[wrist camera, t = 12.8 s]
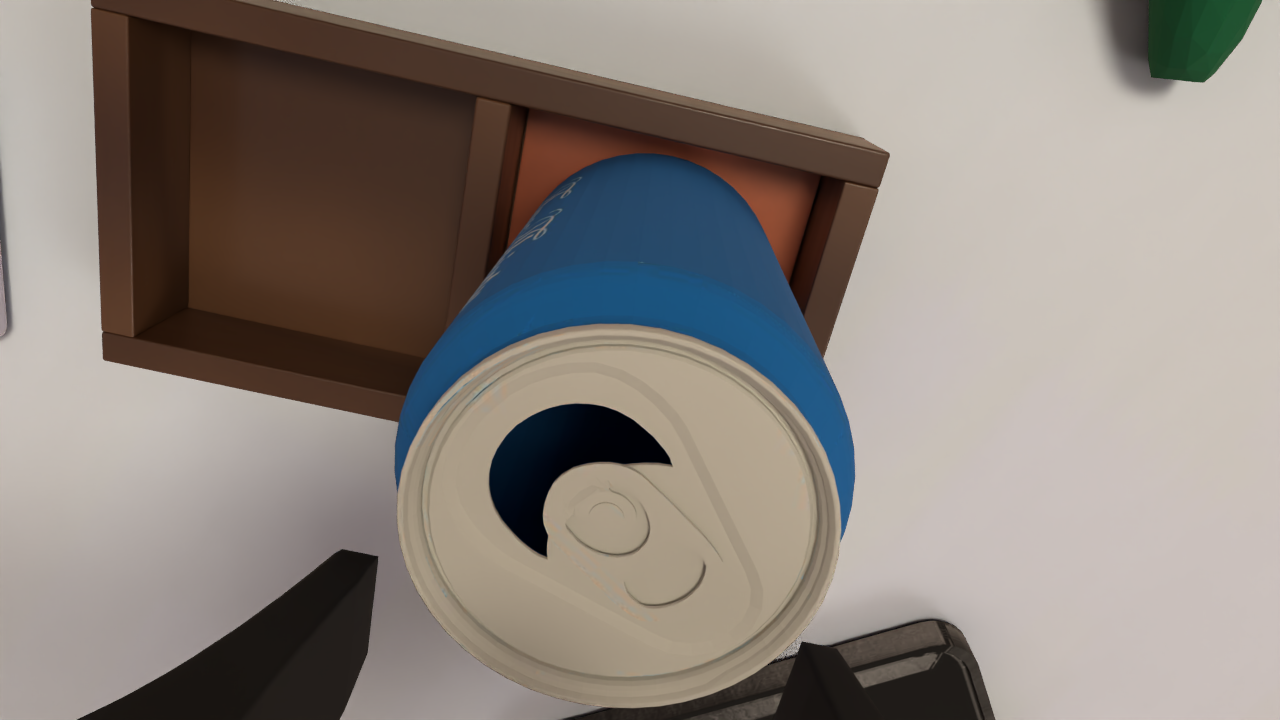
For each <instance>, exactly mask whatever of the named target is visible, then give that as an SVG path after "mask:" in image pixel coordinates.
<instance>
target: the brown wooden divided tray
mask: <svg viewBox="0 0 1280 720" xmlns="http://www.w3.org/2000/svg"><path fill="white" fill-rule="evenodd" d="M91 5H92V6H93V7H94V8H91V27H92V57H93V87H94V116H95V146H96V176H97V206H98V235H99V265H100V295H101V324H102V331H103V333H102V346H103V359H104V360H105V361H110V362H115V363H120V364H124V365H129V366H134V367H139V368H143V369H148V370H153V371H158V372H162V373H167V374H172V375H177V376H181V377H186V378H191V379H196V380H201V381H205V382H210V383H215V384H220V385H224V386H229V387H234V388H239V389H243V390H248V391H253V392H258V393H262V394H267V395H272V396H277V397H281V398H286V399H291V400H296V401H300V402H305V403H310V404H315V405H319V406H324V407H329V408H334V409H338V410H343V411H348V412H353V413H357V414H362V415H367V416H372V417H376V418H381V419H386V420H391V421H395V422H399V419H400V414H401V411H402V408H403V405H404V402H405V399H406V396H407V393H408V390H409V387H410V385H411V383H412V381H413V379H414V377H415V376H416V374H417V372H418V370H419V368H420V366H421V364H422V362H423V361H424V360H425V358H426V357H427V355H428V354H429V353H430V351H431V350H432V348H433V347H434V346H435V344H436V343H437V342H438V340H439V339H440V338H441V336H442V335H443V334H444V332H445V331H446V330H447V328H448V327H449V326H450V324H451V323H452V322H453V320H454V319H455V318H456V316H457V315H458V314H459V312H460V311H461V310H462V308H463V307H464V306H465V304H466V303H467V302H468V300H469V299H470V298H471V296H472V295H473V294H474V293H475V291H476V290H477V289H478V287H479V286H480V285H481V283H482V282H483V281H484V279H485V278H486V277H487V275H488V274H489V273H490V271H491V270H492V269H493V267H494V266H495V265H496V263H497V262H498V261H499V259H500V258H501V257H502V255H503V254H504V253H505V251H506V250H507V249H508V248H509V246H510V245H511V244H512V242H513V241H514V240H515V238H516V237H517V236H518V234H519V233H520V232H521V230H522V229H523V228H524V226H525V225H526V224H527V222H528V221H529V220H530V218H531V217H532V216H533V214H534V213H535V212H536V210H537V209H538V208H539V206H540V205H541V204H542V202H543V201H544V200H545V199H546V197H547V196H548V195H549V194H550V193H551V192H552V191H553V190H554V189H555V188H556V187H557V186H558V185H560V184H561V183H562V182H563V181H565V180H566V179H567V178H568V177H570V176H571V175H573V174H574V173H576V172H578V171H579V170H581V169H583V168H585V167H586V166H589V165H591V164H594V163H596V162H598V161H601V160H604V159H608V158H611V157H615V156H619V155H627V154H635V153H655V154H662V155H669V156H674V157H677V158H681V159H685V160H688V161H691V162H693V163H695V164H698V165H700V166H702V167H705V168H706V169H708V170H710V171H711V172H713V173H715V174H716V175H718V176H720V177H721V178H722V179H723V180H725V181H726V182H727V183H728V184H730V185H731V186H732V187H733V188H734V189H735V190H736V191H737V192H738V193H739V194H740V195H741V196H742V197H743V198H744V199H745V200H746V202H747V203H748V205H749V206H750V207H751V209H752V210H753V212H754V213H755V214H756V216H757V218H758V220H759V222H760V224H761V226H762V228H763V230H764V232H765V234H766V236H767V238H768V241H769V243H770V245H771V247H772V249H773V251H774V254H775V256H776V258H777V260H778V262H779V264H780V267H781V269H782V271H783V273H784V275H785V277H786V280H787V282H788V284H789V286H790V288H791V291H792V293H793V295H794V297H795V299H796V301H797V304H798V306H799V308H800V310H801V312H802V314H803V317H804V319H805V321H806V323H807V325H808V327H809V330H810V332H811V334H812V336H813V338H814V340H815V343H816V345H817V347H818V349H819V351H820V354H821V356H822V358H824V355H825V352H826V349H827V346H828V343H829V340H830V337H831V334H832V331H833V328H834V324H835V321H836V318H837V315H838V312H839V309H840V306H841V303H842V300H843V297H844V294H845V291H846V288H847V285H848V282H849V279H850V276H851V273H852V270H853V267H854V264H855V261H856V258H857V255H858V252H859V249H860V245H861V242H862V239H863V236H864V233H865V230H866V227H867V224H868V221H869V218H870V215H871V212H872V209H873V206H874V203H875V200H876V197H877V194H878V189H877V188H878V187H879V186H880V184H881V181H882V178H883V175H884V172H885V169H886V166H887V163H888V160H889V157H890V154H889V153H888V152H886V151H885V150H883V149H881V148H879V147H877V146H876V145H874V144H872V143H870V142H868V141H867V140H865V139H864V138H861V137H857V136H853V135H848V134H844V133H840V132H835V131H831V130H827V129H823V128H818V127H814V126H810V125H806V124H801V123H797V122H793V121H788V120H784V119H780V118H776V117H771V116H767V115H763V114H758V113H754V112H750V111H746V110H741V109H737V108H733V107H728V106H724V105H720V104H716V103H711V102H707V101H703V100H698V99H694V98H690V97H686V96H681V95H677V94H673V93H668V92H664V91H660V90H656V89H651V88H647V87H643V86H638V85H634V84H630V83H626V82H621V81H617V80H613V79H608V78H604V77H600V76H596V75H591V74H587V73H583V72H579V71H574V70H570V69H566V68H561V67H557V66H553V65H549V64H544V63H540V62H536V61H531V60H527V59H523V58H519V57H514V56H510V55H506V54H501V53H497V52H493V51H489V50H484V49H480V48H476V47H471V46H467V45H463V44H459V43H454V42H450V41H446V40H441V39H437V38H433V37H429V36H424V35H420V34H416V33H411V32H407V31H403V30H399V29H394V28H390V27H386V26H381V25H377V24H373V23H369V22H364V21H360V20H356V19H352V18H347V17H343V16H339V15H334V14H330V13H326V12H322V11H317V10H313V9H309V8H304V7H300V6H296V5H292V4H287V3H283V2H279V1H274V0H91Z"/></svg>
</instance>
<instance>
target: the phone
mask: <svg viewBox="0 0 1280 720" xmlns="http://www.w3.org/2000/svg"><path fill="white" fill-rule="evenodd" d="M832 648H837V649H838V651H839V652H840V654H841V655H842V657H843V658H844V659H845V661H846V662H847V664H848V665H849V667H850V668H851V670H852V671H853V673H854V674H855V676H856V677H857V679H858V680H859V682H860V683H861V685H862V686H863V688H864V689H865V691H866V692H867V694H868V695H869V697H870V698H871V700H872V701H873V703H874V704H875V706H876V707H877V709H878V710H879V712H880V713H881V715H882V716H883V717H884V719H885V720H995V717H994V714H993V711H992V708H991V704H990V701H989V698H988V695H987V692H986V688H985V685H984V682H983V679H982V675H981V672H980V669H979V666H978V663H977V661H976V659H975V657H974V655H973V653H972V651H971V649H970V647H969V645H968V643H967V641H966V639H965V637H964V635H963V633H962V632H961V631H960V630H959V629H957V628H956V627H955V626H954V625H951V624H948V623H946V622H941V621H927V622H920V623H917V624H913V625H910V626H906V627H902V628H899V629H895V630H892V631H888V632H885V633H881V634H877V635H874V636H870V637H867V638H863V639H860V640H856V641H852V642H849V643H845V644H842V645H838V646H835V647H832ZM795 659H796V657H795V658H792V659H788V660H785V661H781V662H777V663H774V664H770V665H767V666H764V667H763V668H762V669H760V670H759V671H757V672H756V673H754V674H753V675H751V676H749V677H747V678H745V679H743V680H742V681H740V682H738V683H736V684H734V685H732V686H730V687H727V688H725V689H722V690H720V691H718V692H715V693H713V694H710V695H707V696H704V697H700V698H697V699H693V700H690V701H686V702H681V703H675V704H670V705H664V706H657V707H643V708H613V709H610V710H606V711H602V712H599V713H595V714H592V715H588V716H585V717H581V718H577V719H574V720H773V719H774V716H775V713H776V710H777V708H778V705H779V702H780V700H781V697H782V694H783V691H784V689H785V686H786V683H787V681H788V678H789V675H790V672H791V670H792V667H793V664H794V662H795Z"/></svg>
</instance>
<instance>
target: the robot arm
mask: <svg viewBox="0 0 1280 720" xmlns="http://www.w3.org/2000/svg"><path fill="white" fill-rule="evenodd" d="M6 329H7V317H6V304H5V292H4V280H3V267H2V255H1V242H0V336H3V335H4V333H5V332H6ZM377 565H378V556H373V555H368V554H363V553H358V552H353V551H348V550H343V549H341V550H340V551H338V552H336V553H335V554H333V555H332V556H331V557H330V558H328V559H327V560H326V561H325V562H323V563H322V564H321V565H320V566H318V567H317V568H316V569H315V570H314V571H312V572H311V573H310V574H309V575H307V576H306V577H305V578H303V579H302V580H301V581H300V582H298V583H297V584H296V585H295V586H293V587H292V588H291V589H289V590H288V591H287V592H285V593H284V594H283V595H282V596H280V597H279V598H278V599H276V600H275V601H274V602H272V603H271V604H269V605H268V606H267V607H265V608H264V609H263V610H261V611H260V612H259V613H257V614H256V615H254V616H253V617H252V618H250V619H249V620H248V621H246V622H245V623H243V624H242V625H241V626H239V627H238V628H236V629H235V630H233V631H232V632H230V633H229V634H227V635H226V636H224V637H223V638H221V639H220V640H218V641H217V642H215V643H214V644H212V645H211V646H209V647H208V648H206V649H205V650H203V651H202V652H200V653H198V654H197V655H195V656H194V657H192V658H191V659H189V660H187V661H186V662H184V663H183V664H181V665H179V666H178V667H176V668H174V669H173V670H171V671H169V672H168V673H166V674H164V675H162V676H161V677H159V678H157V679H155V680H154V681H152V682H150V683H148V684H146V685H145V686H143V687H141V688H139V689H138V690H136V691H134V692H132V693H130V694H128V695H126V696H125V697H123V698H121V699H119V700H117V701H115V702H113V703H111V704H109V705H107V706H104V707H102V708H100V709H98V710H96V711H94V712H92V713H90V714H88V715H86V716H83V717H81V718H79V719H77V720H339V719H340V717H341V716H342V714H343V712H344V710H345V707H346V705H347V703H348V700H349V698H350V695H351V693H352V690H353V688H354V686H355V683H356V681H357V678H358V676H359V673H360V670H361V668H362V665H363V663H364V660H365V658H366V655H367V653H368V644H369V635H370V626H371V618H372V609H373V600H374V592H375V583H376V574H377ZM773 720H885V719H884V717H883V716H882V715H881V713H880V712H879V710H878V709H877V707H876V706H875V704H874V703H873V701H872V700H871V698H870V697H869V695H868V694H867V692H866V691H865V689H864V688H863V686H862V685H861V683H860V682H859V680H858V679H857V677H856V676H855V674H854V673H853V671H852V670H851V668H850V667H849V665H848V664H847V662H846V661H845V659H844V658H843V657H842V655H841V654H840V652H839V651H838V649H837V648H832V647H827V646H822V645H817V644H812V643H807V642H802V643H801V645H800V648H799V651H798V653H797V656H796V659H795V662H794V664H793V667H792V670H791V672H790V675H789V678H788V681H787V683H786V686H785V689H784V691H783V694H782V697H781V700H780V702H779V705H778V708H777V710H776V713H775V716H774V719H773Z"/></svg>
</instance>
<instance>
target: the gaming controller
mask: <svg viewBox="0 0 1280 720" xmlns="http://www.w3.org/2000/svg"><path fill="white" fill-rule="evenodd" d="M1261 2H1262V0H1149V24H1148V61H1149V67H1150V74H1151V77H1153V78H1163V79H1173V80H1182V81H1191V82H1205V81H1206V80H1207V79H1208V78H1210V77H1211V76H1212V75H1213V74H1214V73H1215V72H1216V71H1217V70H1218V69H1219V67H1220V66H1221V65H1222V64H1223V62H1224V61H1225V60H1226V59H1227V57H1228V56H1229V55H1230V54H1231V52H1232V51H1233V50H1234V49H1235V47H1236V46H1237V45H1238V44H1239V42H1240V41H1241V40H1242V38H1243V37H1244V35H1245V33H1246V31H1247V29H1248V27H1249V25H1250V23H1251V21H1252V19H1253V18H1254V16H1255V14H1256V12H1257V10H1258V8H1259V6H1260V4H1261Z"/></svg>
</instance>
